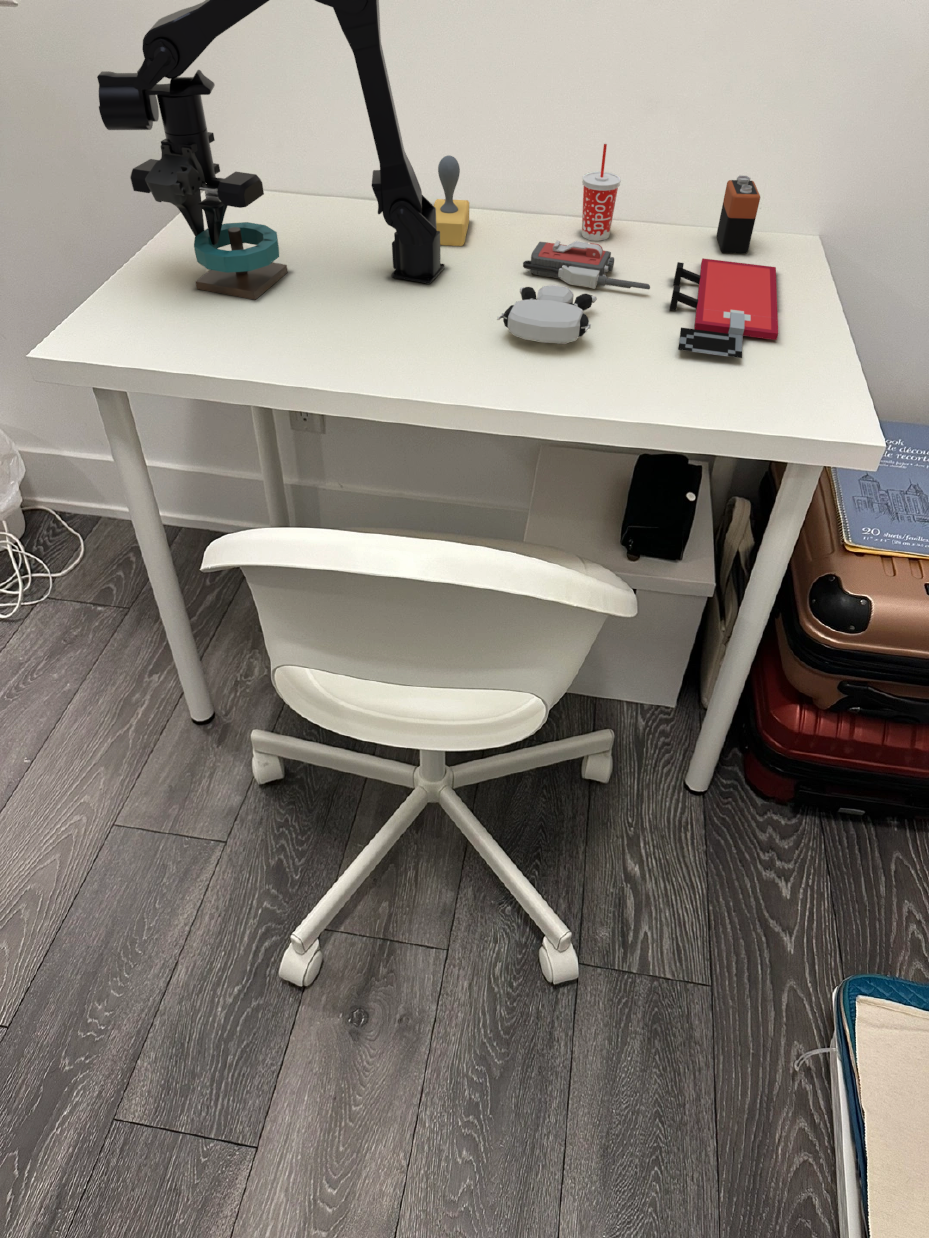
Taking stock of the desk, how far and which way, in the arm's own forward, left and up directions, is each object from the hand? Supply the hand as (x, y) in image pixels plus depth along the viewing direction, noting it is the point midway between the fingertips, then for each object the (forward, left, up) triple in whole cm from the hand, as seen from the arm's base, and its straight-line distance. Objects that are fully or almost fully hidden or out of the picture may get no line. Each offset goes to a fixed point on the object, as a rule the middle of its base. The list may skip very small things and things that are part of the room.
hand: (208, 242), depth 134 cm
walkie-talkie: (-54, -20, -5) cm, 58 cm away
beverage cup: (-51, -36, -5) cm, 63 cm away
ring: (-5, 0, -1) cm, 5 cm away
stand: (-5, 0, -5) cm, 7 cm away
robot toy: (-53, -2, -5) cm, 53 cm away
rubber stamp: (-28, -28, -5) cm, 40 cm away
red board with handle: (-75, -16, -5) cm, 77 cm away
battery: (-73, -40, -5) cm, 83 cm away
